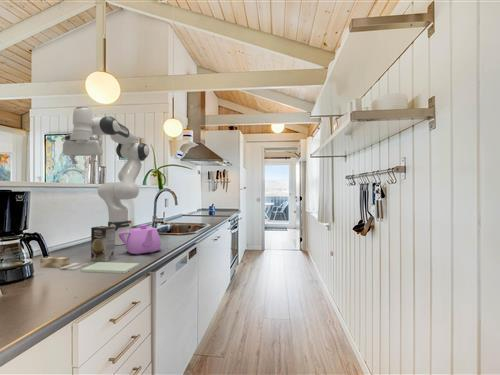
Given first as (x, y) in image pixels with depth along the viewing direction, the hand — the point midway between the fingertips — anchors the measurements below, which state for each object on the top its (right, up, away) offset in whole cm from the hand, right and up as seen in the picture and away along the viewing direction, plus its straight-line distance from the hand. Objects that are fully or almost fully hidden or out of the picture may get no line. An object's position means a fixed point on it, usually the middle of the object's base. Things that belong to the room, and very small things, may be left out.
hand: (82, 164), depth 137 cm
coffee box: (+15, -48, -8) cm, 51 cm away
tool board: (+27, -48, -22) cm, 59 cm away
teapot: (+29, -48, +8) cm, 57 cm away
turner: (+3, -48, -20) cm, 52 cm away
